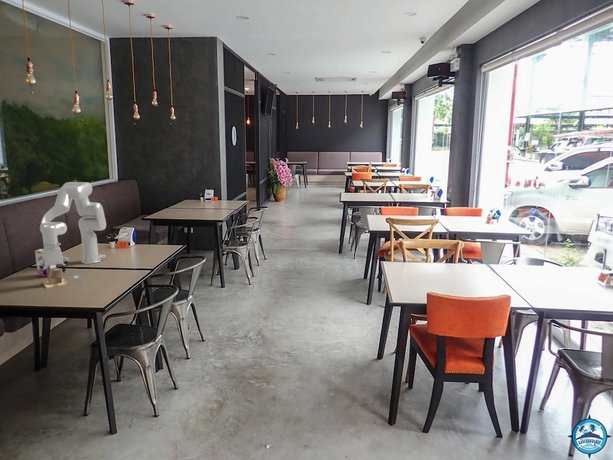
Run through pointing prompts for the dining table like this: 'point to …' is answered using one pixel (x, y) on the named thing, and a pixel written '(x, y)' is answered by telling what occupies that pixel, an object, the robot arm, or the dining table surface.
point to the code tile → (75, 276)
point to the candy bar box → (39, 257)
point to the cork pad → (54, 284)
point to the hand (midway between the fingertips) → (54, 273)
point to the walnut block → (54, 276)
